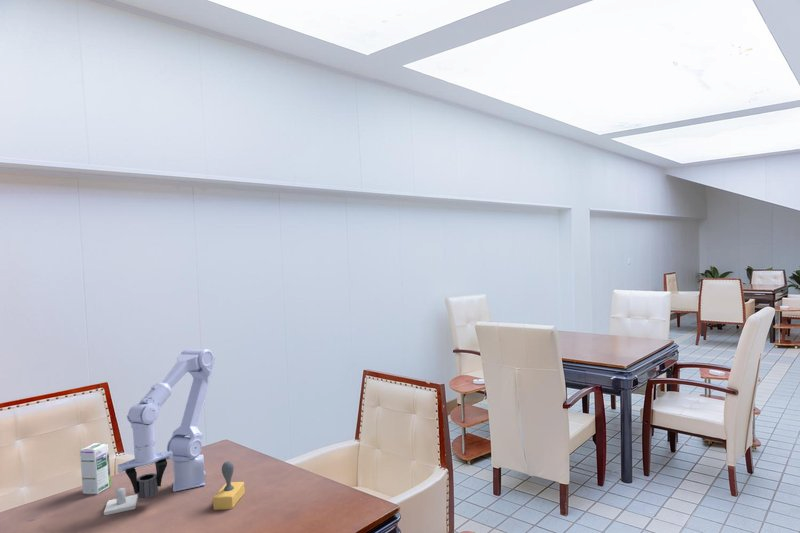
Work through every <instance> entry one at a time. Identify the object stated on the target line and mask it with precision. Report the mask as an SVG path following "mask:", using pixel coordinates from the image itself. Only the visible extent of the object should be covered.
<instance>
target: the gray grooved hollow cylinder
mask: <svg viewBox="0 0 800 533" xmlns="http://www.w3.org/2000/svg"><path fill="white" fill-rule="evenodd" d="M137 487H138V493H137V494H136V495H137V497H138V498H139V499H147V498H151V497H154V496H156V495H157V494H158V493H159V487H158V481H157V473H147V474H142V475H140V476H138V477H137Z"/></svg>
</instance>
